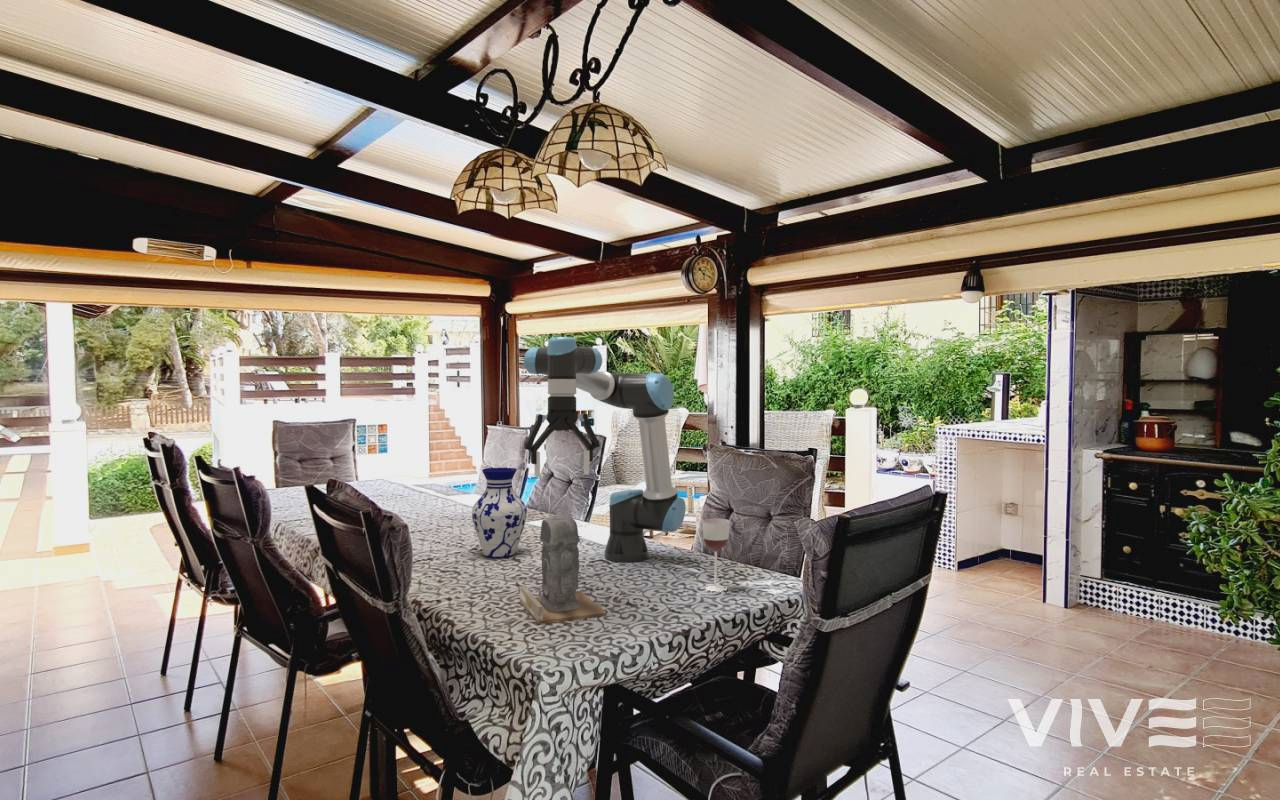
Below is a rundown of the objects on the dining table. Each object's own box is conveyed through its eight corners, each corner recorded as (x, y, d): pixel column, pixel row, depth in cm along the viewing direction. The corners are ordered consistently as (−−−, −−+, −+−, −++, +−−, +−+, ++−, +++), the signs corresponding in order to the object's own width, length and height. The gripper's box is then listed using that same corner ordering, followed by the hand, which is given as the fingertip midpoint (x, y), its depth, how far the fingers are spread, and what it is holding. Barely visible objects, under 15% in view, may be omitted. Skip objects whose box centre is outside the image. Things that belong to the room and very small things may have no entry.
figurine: (551, 615, 184) (551, 518, 184) (536, 600, 197) (536, 509, 197) (587, 611, 188) (587, 515, 187) (570, 596, 201) (570, 506, 200)
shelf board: (582, 594, 205) (582, 579, 205) (606, 615, 187) (606, 599, 187) (519, 602, 198) (519, 586, 198) (537, 624, 180) (537, 607, 180)
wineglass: (732, 586, 214) (732, 519, 214) (725, 594, 206) (726, 524, 206) (705, 583, 217) (706, 517, 216) (698, 591, 209) (698, 522, 208)
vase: (479, 563, 241) (479, 474, 240) (465, 552, 257) (465, 468, 257) (534, 557, 249) (534, 471, 249) (517, 546, 266) (517, 465, 265)
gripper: (601, 395, 200) (601, 471, 200) (512, 395, 190) (512, 475, 191) (611, 395, 193) (611, 474, 193) (518, 396, 183) (519, 479, 184)
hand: (562, 475), depth 192 cm, fingers open, 13 cm apart
